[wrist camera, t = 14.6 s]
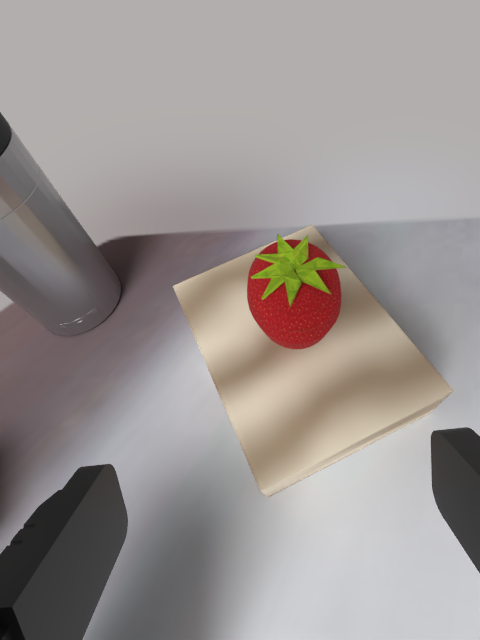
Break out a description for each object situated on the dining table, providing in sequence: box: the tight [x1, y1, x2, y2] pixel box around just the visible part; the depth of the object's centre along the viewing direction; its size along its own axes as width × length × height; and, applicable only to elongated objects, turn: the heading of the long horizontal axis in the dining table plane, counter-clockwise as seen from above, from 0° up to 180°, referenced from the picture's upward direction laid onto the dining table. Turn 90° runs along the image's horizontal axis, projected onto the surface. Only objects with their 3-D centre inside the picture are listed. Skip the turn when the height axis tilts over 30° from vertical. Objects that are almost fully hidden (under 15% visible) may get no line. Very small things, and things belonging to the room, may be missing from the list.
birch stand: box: [173, 225, 453, 497], centre depth 29 cm, size 18×14×5 cm
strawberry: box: [247, 235, 346, 349], centre depth 22 cm, size 6×8×10 cm
